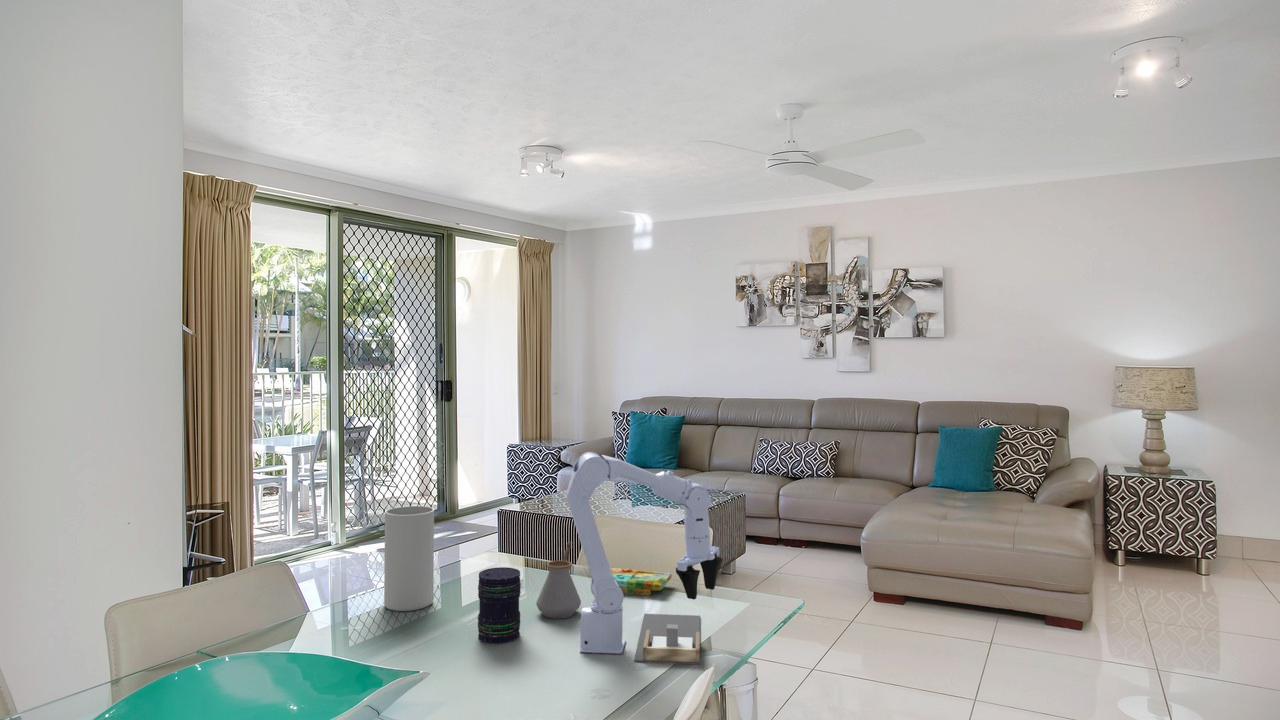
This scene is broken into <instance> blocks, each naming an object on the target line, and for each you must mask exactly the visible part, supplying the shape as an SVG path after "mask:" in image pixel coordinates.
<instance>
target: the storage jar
mask: <svg viewBox="0 0 1280 720" xmlns="http://www.w3.org/2000/svg"><path fill="white" fill-rule="evenodd" d="M521 584H522V583H521V571H520V570H519V569H518V568H515V567H504V566H503V567H493V568H492V567H491V568H490V567H489V568H486V569H484V570H481V571H480V572H479V573H478V584H477V590H478V593H477V597H478V599H479V605H478V606H479V613H478V615H477V629H478V636H477V638H478V641H479V642H482V643H484V644H488V645H503V644H509V643H513V642H515V641H517V640H518V639H519V638H520V637H521V636H520V635H521V632H520V629H521V611H520V597H521V593H522V591H521V586H522V585H521Z"/></svg>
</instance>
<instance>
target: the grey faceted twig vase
mask: <svg viewBox="0 0 1280 720" xmlns="http://www.w3.org/2000/svg"><path fill="white" fill-rule="evenodd" d="M572 545H573V546H572ZM574 547H575V543H574V542H572V541H568V542H567V543H566V549H565V551H564V554H563V559H562V560H552V561H549V562H547V563H546V567H547V568H548V573H547V576H546V579H545V580H544V583H543V584H542V585H543V586H542V588H541V589H540V590H541V591H540V592H539V594H538V595H539V596H538V598H537V600H536V602H535V604H536V607H537V609H538V611H540V613H542V614H543V616H544V617H546V618H549V619H550V618H551V619H557V620H558V619H566V618H571V617H572V616H573V615H574V614H575V613H576V612H577V611H578V610H579V608H580V607H581V604H582V600H581V598H580V595H579V593H578V590H577V588H576V586H575V583H574V580H573V578H572V576H571V574H570V570H571V569H572V567H573V563H572V562H570V561H568V559H569V555H570V550H571V549H572V548H574Z"/></svg>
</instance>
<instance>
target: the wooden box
mask: <svg viewBox="0 0 1280 720" xmlns="http://www.w3.org/2000/svg"><path fill="white" fill-rule="evenodd" d="M649 644H650V630H647V631H646V636H645V641H644V646H643V660H659V661H684V662H699V655H700V656H701V652H700V651H701V631H700V632H696V648H671V647H649Z"/></svg>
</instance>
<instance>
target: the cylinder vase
mask: <svg viewBox="0 0 1280 720" xmlns="http://www.w3.org/2000/svg"><path fill="white" fill-rule="evenodd" d="M434 545H435V508H434V507H433V506H432V507H431V506H426V505H425V506H424V505H408V506H407V505H406V506H398V507H392V508H389V509H386V510H385V511H384V571H383V572H384V574H383V575H384V576H383V577H384V578H383V580H384V581H383V582H384V583H383V587H384V589H383V593H384V594H383V595H384V597H383V602H384V603H383V605H384V606H385V608H386V609H387V610H390V611H395V612H411V611H418V610H422V609H425V608H428V607H429V606H430V605H432V604H433V602H434V583H435V582H434V580H435V579H434V576H435V575H434V573H435V571H434V570H435V569H434V568H435V567H434V566H435V564H434V563H435V558H434V555H435V554H434V552H435V546H434Z"/></svg>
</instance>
